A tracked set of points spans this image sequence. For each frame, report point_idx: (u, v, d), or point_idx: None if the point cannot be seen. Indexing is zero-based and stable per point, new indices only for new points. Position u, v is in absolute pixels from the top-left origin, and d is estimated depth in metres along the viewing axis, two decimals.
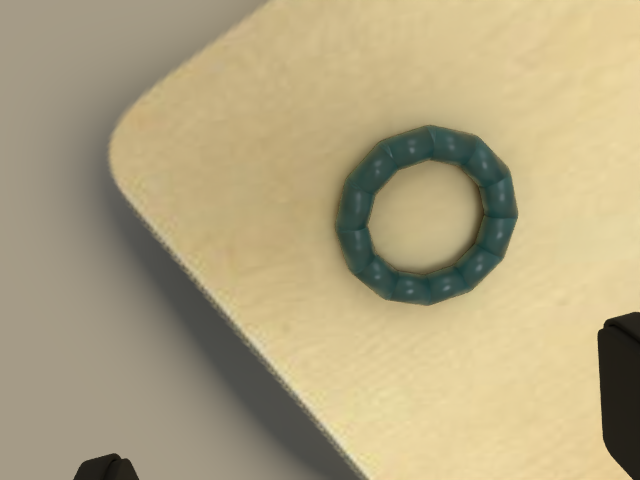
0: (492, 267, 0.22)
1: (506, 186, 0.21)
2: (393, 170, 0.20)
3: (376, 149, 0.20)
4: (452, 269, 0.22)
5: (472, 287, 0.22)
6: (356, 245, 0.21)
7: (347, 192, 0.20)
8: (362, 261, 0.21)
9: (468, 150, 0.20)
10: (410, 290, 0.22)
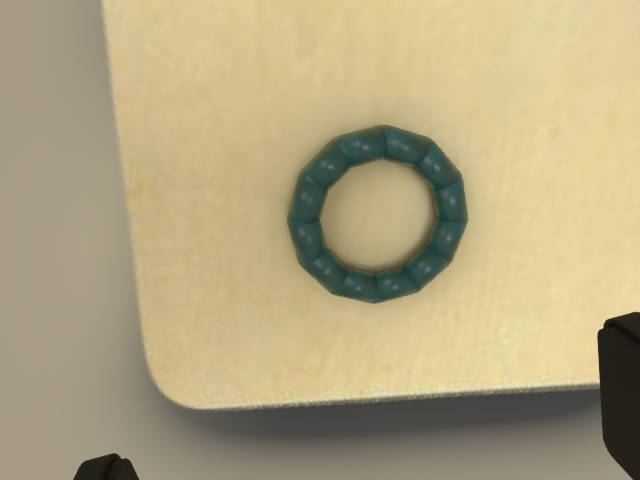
0: (460, 192, 0.21)
1: (396, 141, 0.20)
2: (315, 227, 0.21)
3: (290, 228, 0.21)
4: (437, 223, 0.22)
5: (464, 219, 0.22)
6: (354, 291, 0.22)
7: (308, 270, 0.22)
8: (371, 293, 0.22)
9: (341, 158, 0.20)
10: (425, 271, 0.22)
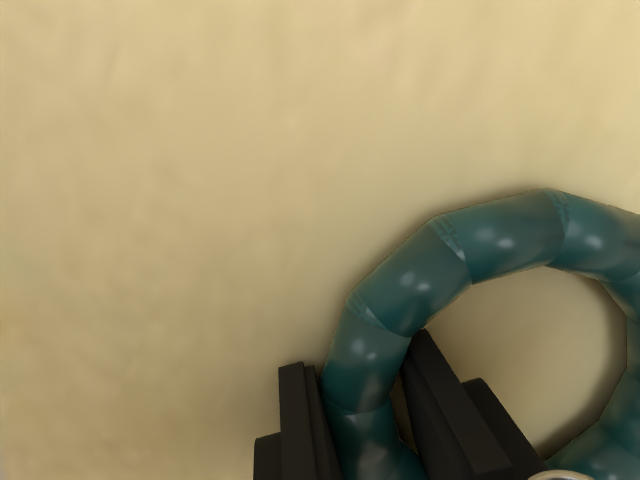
0: None
1: (585, 231, 0.08)
2: (381, 417, 0.09)
3: None
4: (637, 390, 0.10)
5: None
6: None
7: None
8: None
9: (454, 273, 0.08)
10: None
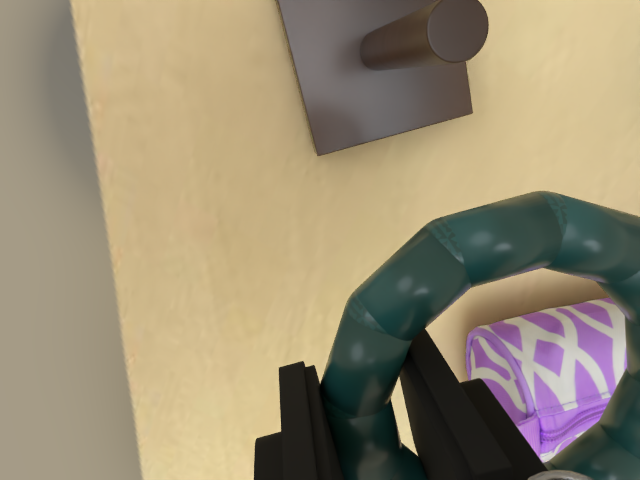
0: None
1: (582, 233, 0.08)
2: (382, 420, 0.09)
3: None
4: (637, 390, 0.10)
5: None
6: None
7: None
8: None
9: (452, 275, 0.08)
10: None
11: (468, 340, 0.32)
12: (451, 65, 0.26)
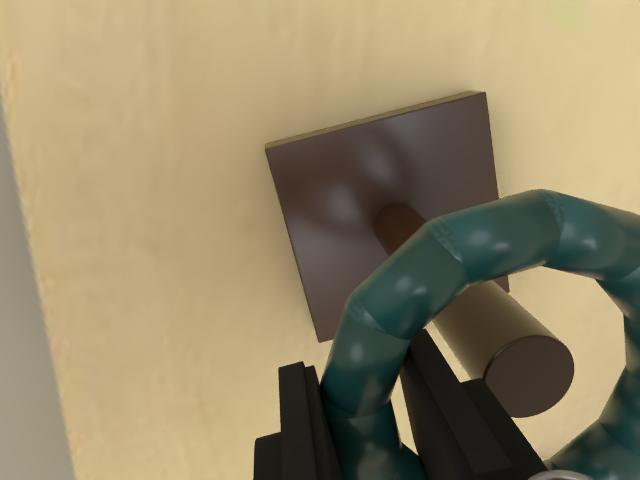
0: None
1: (580, 231, 0.08)
2: (382, 420, 0.09)
3: None
4: (636, 388, 0.10)
5: None
6: None
7: None
8: None
9: (451, 274, 0.08)
10: None
11: None
12: None
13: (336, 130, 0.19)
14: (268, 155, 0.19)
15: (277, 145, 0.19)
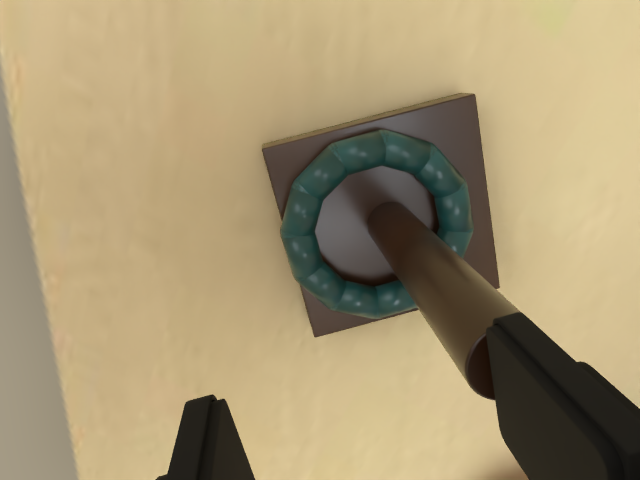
0: (465, 199, 0.20)
1: (395, 147, 0.19)
2: (309, 240, 0.20)
3: (283, 241, 0.20)
4: (440, 232, 0.21)
5: (470, 228, 0.20)
6: (353, 306, 0.21)
7: (303, 285, 0.20)
8: (371, 308, 0.21)
9: (336, 166, 0.19)
10: None
11: None
12: (476, 238, 0.22)
13: (331, 131, 0.20)
14: (265, 155, 0.20)
15: (274, 145, 0.20)
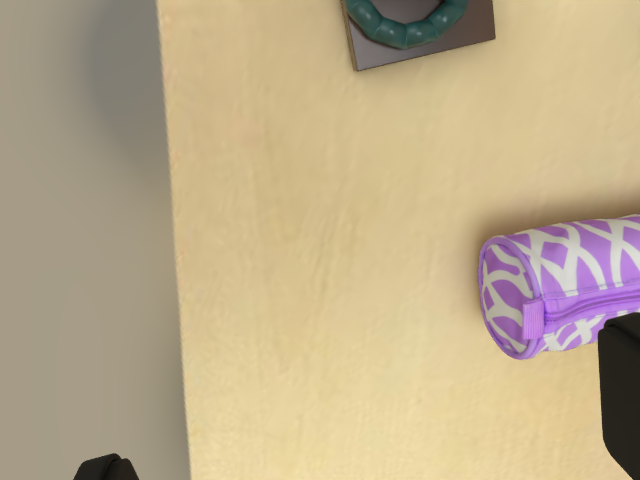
0: None
1: None
2: None
3: None
4: None
5: None
6: (388, 31, 0.28)
7: (353, 14, 0.28)
8: (401, 35, 0.29)
9: None
10: (443, 17, 0.29)
11: (481, 253, 0.35)
12: None
13: None
14: None
15: None
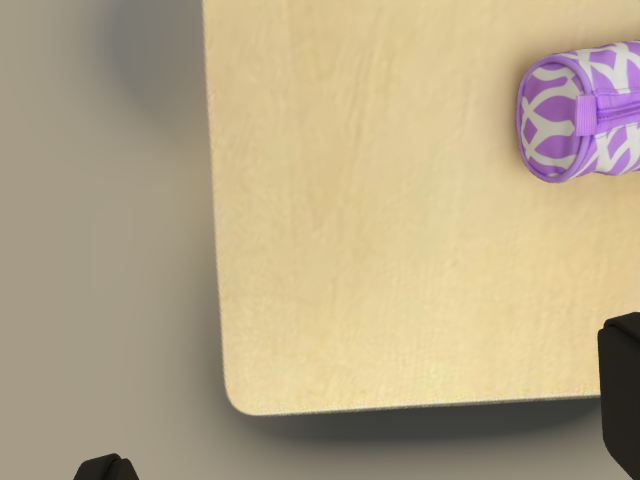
0: None
1: None
2: None
3: None
4: None
5: None
6: None
7: None
8: None
9: None
10: None
11: (520, 88, 0.35)
12: None
13: None
14: None
15: None
